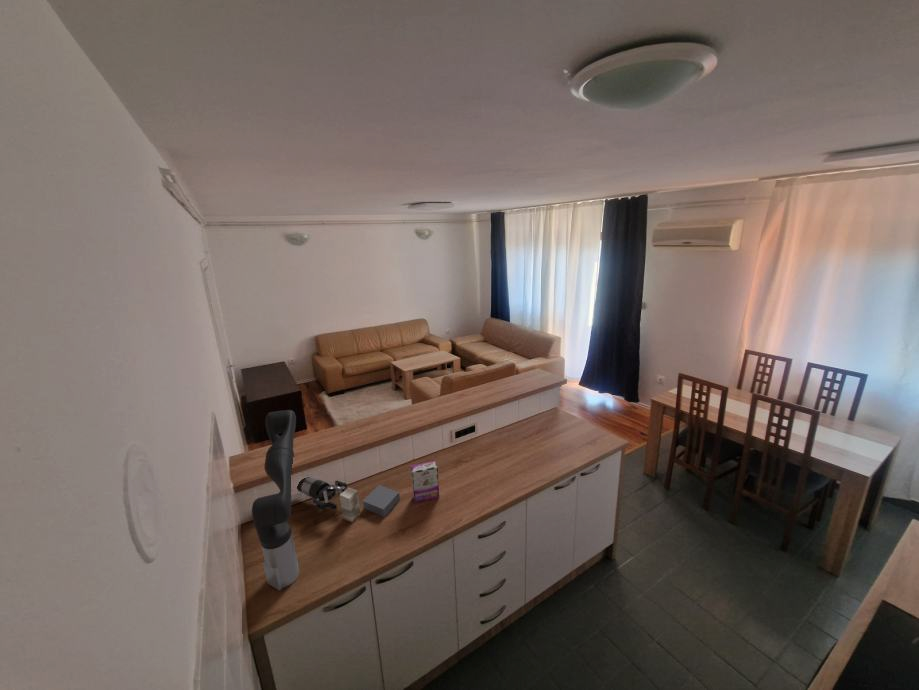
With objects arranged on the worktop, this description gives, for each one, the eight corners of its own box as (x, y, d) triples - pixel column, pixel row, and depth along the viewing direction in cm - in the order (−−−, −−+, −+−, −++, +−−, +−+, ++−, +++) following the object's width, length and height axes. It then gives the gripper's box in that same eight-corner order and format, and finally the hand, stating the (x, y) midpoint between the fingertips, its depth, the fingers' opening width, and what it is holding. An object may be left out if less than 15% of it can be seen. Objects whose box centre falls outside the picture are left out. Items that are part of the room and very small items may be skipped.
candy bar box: (437, 490, 165) (435, 460, 160) (439, 498, 160) (438, 467, 155) (412, 495, 162) (410, 465, 157) (414, 503, 158) (412, 472, 152)
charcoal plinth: (384, 517, 151) (383, 509, 149) (363, 508, 155) (362, 500, 154) (399, 499, 160) (399, 492, 159) (379, 492, 165) (379, 484, 163)
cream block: (352, 522, 148) (349, 498, 144) (343, 518, 150) (339, 494, 146) (360, 514, 152) (357, 490, 148) (351, 510, 154) (348, 487, 151)
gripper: (300, 491, 150) (329, 504, 143) (326, 471, 162) (354, 482, 155) (303, 506, 153) (332, 519, 146) (328, 485, 165) (356, 496, 158)
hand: (343, 500), depth 150 cm, fingers open, 8 cm apart
